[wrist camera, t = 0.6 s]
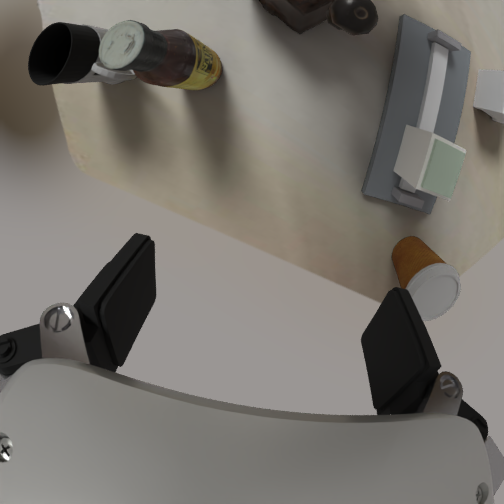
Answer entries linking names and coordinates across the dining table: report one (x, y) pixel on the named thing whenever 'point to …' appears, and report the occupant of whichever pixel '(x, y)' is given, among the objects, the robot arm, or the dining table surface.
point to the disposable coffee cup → (426, 277)
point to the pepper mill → (325, 14)
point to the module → (490, 94)
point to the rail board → (420, 120)
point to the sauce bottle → (160, 56)
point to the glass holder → (71, 56)
